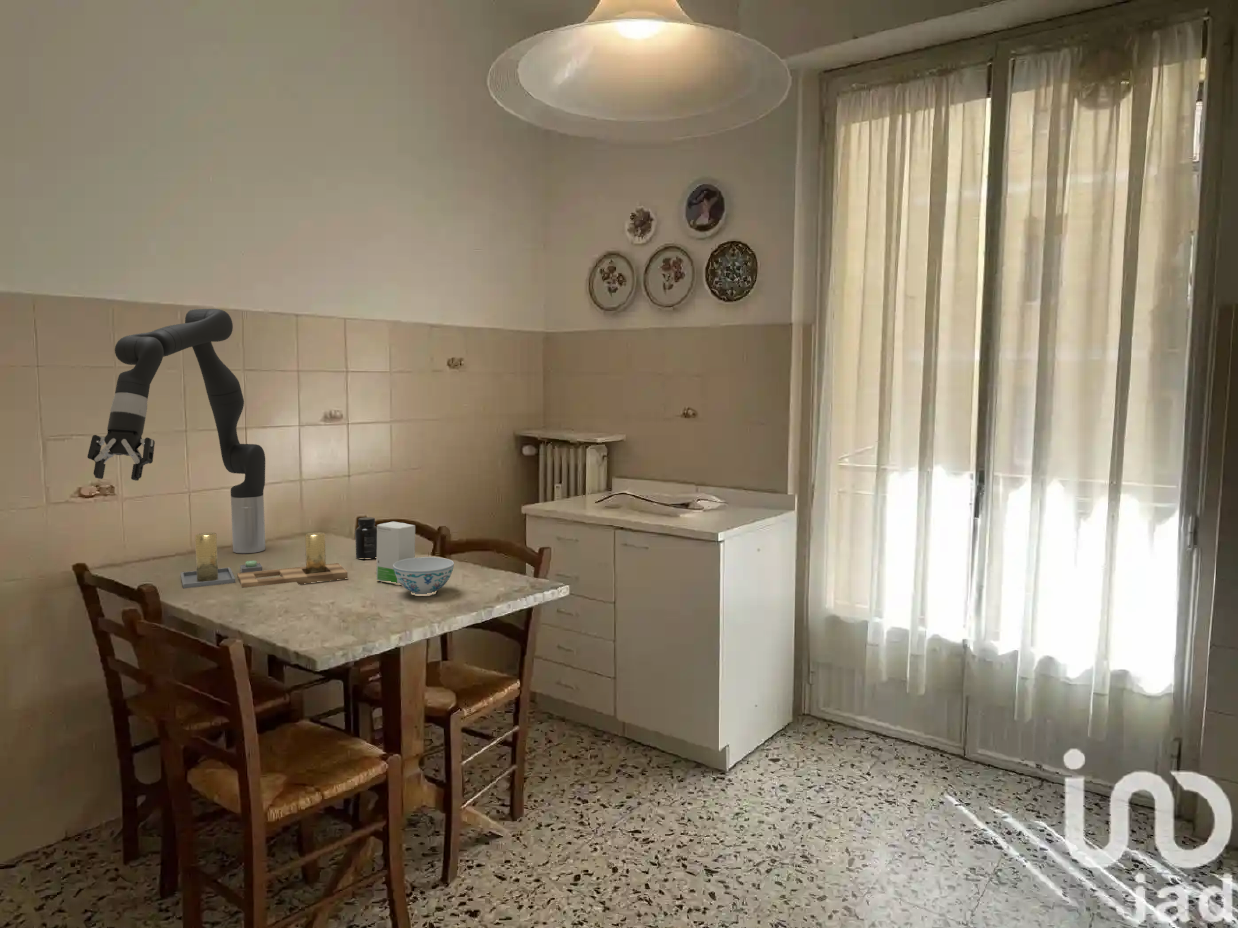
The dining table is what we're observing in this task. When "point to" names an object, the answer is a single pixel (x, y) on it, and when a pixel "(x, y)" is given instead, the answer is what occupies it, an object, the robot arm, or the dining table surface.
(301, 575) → the pallet
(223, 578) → the grey tray
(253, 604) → the dining table surface
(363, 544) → the supplement bottle
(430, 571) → the chinaware
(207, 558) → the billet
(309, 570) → the seated billet
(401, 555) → the skincare box
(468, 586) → the dining table surface
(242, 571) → the button housing
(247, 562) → the button
